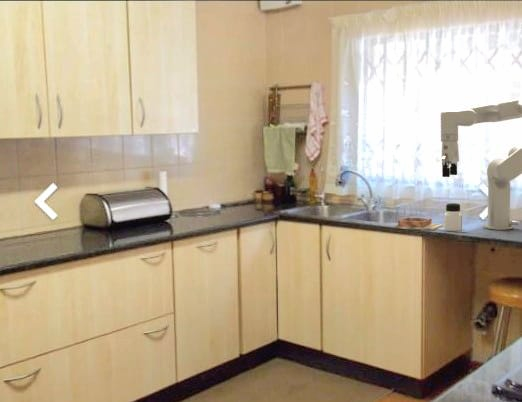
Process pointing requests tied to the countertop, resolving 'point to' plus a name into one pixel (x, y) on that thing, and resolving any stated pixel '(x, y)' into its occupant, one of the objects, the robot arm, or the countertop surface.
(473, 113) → the robot arm
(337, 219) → the countertop surface
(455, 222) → the medicine bottle
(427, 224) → the dock board
